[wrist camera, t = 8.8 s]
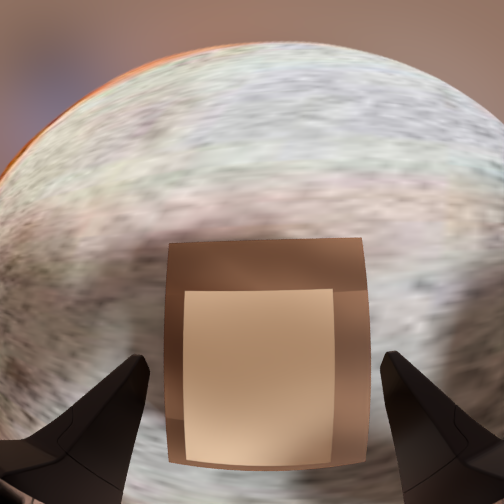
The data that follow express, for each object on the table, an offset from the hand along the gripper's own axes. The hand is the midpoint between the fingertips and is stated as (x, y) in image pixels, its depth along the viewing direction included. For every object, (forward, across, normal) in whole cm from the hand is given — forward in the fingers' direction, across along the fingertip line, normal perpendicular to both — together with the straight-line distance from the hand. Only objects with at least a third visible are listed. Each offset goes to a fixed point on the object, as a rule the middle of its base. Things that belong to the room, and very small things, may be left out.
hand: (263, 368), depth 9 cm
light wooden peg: (+6, 0, +6) cm, 9 cm away
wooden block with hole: (+7, 0, +7) cm, 10 cm away
